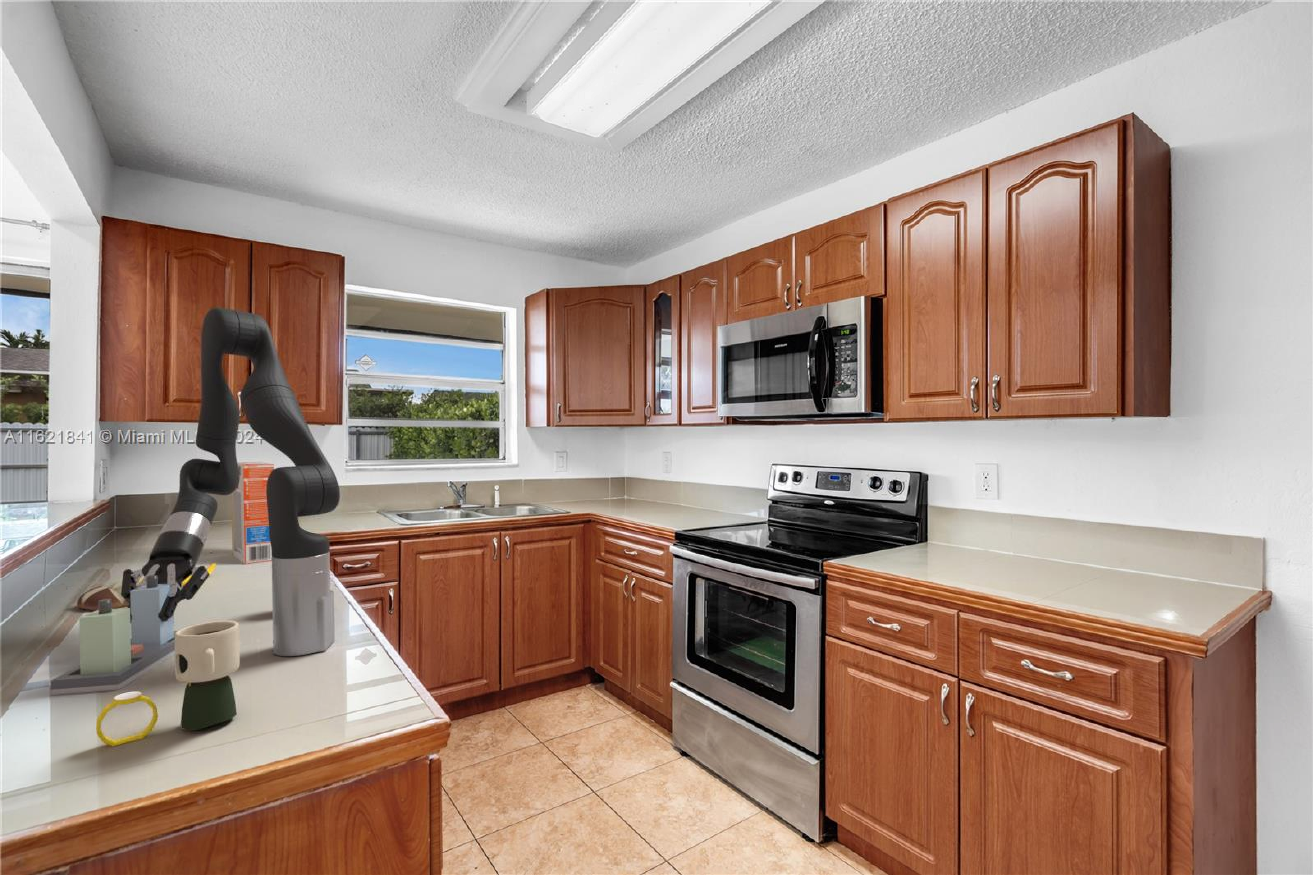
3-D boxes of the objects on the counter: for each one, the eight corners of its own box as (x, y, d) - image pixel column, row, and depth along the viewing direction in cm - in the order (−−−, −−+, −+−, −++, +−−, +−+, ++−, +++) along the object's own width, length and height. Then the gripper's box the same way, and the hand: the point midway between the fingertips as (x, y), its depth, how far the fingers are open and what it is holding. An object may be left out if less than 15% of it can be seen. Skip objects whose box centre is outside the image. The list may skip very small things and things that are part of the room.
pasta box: (275, 560, 197) (273, 464, 197) (244, 564, 192) (242, 465, 191) (261, 550, 214) (259, 461, 214) (232, 554, 209) (230, 462, 208)
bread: (133, 597, 155) (132, 576, 155) (147, 604, 148) (147, 583, 148) (72, 607, 146) (71, 586, 146) (84, 615, 139) (84, 593, 139)
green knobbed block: (131, 668, 104) (129, 595, 104) (113, 678, 100) (112, 603, 100) (99, 670, 104) (98, 597, 103) (80, 681, 99) (78, 604, 99)
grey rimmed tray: (195, 641, 120) (195, 625, 120) (119, 689, 98) (118, 670, 98) (141, 645, 119) (141, 629, 119) (50, 695, 96) (50, 675, 96)
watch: (154, 732, 84) (158, 686, 85) (156, 739, 82) (160, 693, 83) (94, 744, 80) (98, 696, 80) (95, 752, 78) (99, 703, 78)
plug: (174, 637, 117) (173, 572, 117) (160, 645, 113) (159, 578, 113) (146, 639, 116) (145, 573, 116) (131, 647, 112) (130, 579, 112)
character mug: (176, 716, 88) (174, 623, 88) (237, 703, 92) (236, 614, 92) (176, 747, 79) (173, 644, 79) (243, 730, 84) (241, 632, 84)
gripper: (131, 530, 120) (89, 612, 109) (215, 527, 123) (183, 607, 111) (148, 553, 126) (110, 633, 114) (228, 549, 128) (199, 627, 117)
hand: (146, 619), depth 113 cm, fingers closed on plug, 4 cm apart
